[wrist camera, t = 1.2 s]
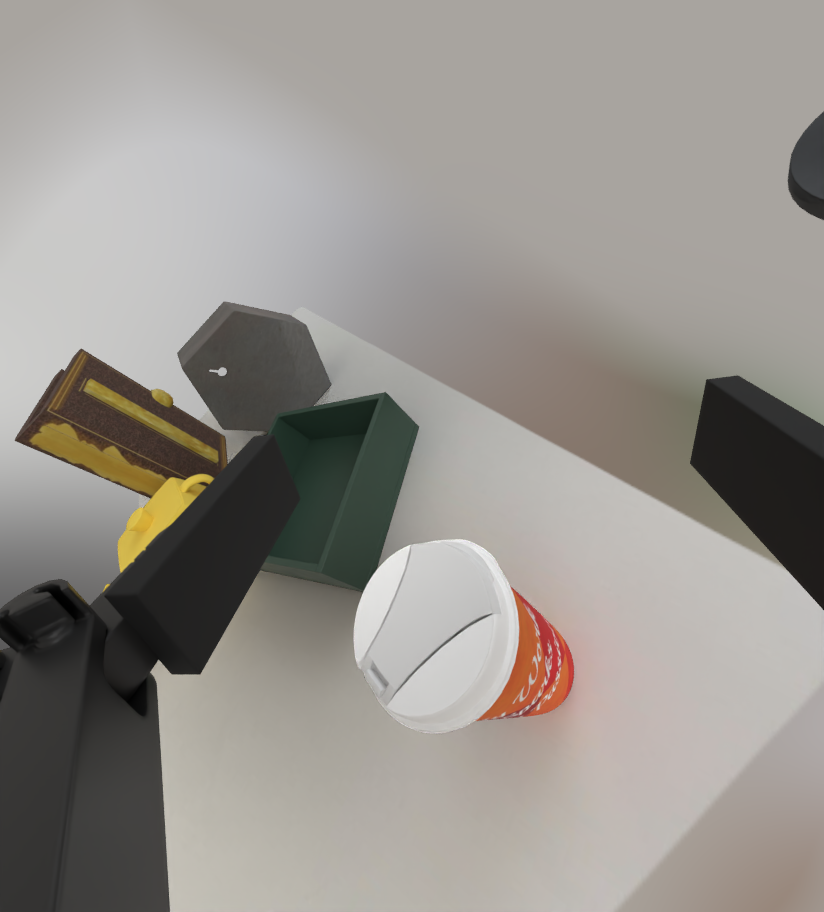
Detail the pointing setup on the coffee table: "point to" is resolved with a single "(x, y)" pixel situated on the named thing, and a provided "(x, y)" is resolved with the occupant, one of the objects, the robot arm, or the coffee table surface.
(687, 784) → the coffee table surface
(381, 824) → the coffee table surface
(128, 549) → the teapot
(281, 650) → the coffee table surface
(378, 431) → the bin
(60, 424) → the book
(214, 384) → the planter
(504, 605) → the coffee cup
